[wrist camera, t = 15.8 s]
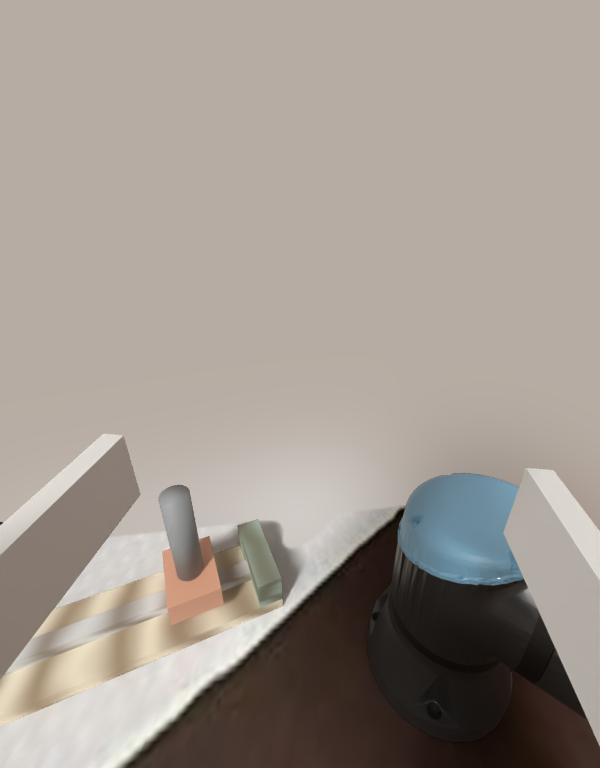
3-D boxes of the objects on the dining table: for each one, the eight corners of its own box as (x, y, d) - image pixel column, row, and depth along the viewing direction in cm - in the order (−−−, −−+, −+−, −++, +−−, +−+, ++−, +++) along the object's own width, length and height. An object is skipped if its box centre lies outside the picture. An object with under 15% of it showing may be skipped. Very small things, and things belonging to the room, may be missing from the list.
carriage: (212, 557, 49) (197, 466, 42) (224, 610, 43) (208, 513, 36) (168, 572, 47) (143, 479, 40) (173, 631, 41) (145, 532, 33)
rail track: (260, 545, 54) (257, 519, 51) (282, 605, 45) (281, 578, 43) (-35, 649, 41) (-56, 621, 39) (-78, 759, 33) (-108, 732, 30)
